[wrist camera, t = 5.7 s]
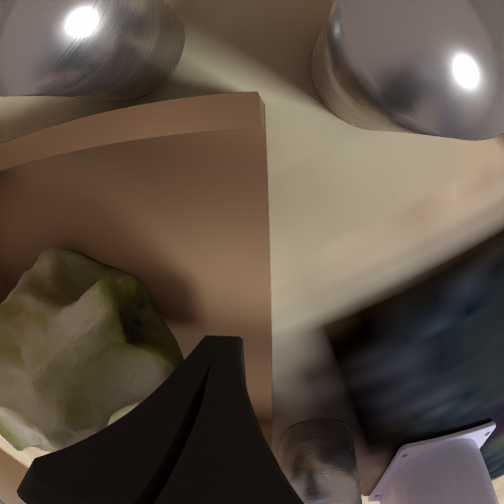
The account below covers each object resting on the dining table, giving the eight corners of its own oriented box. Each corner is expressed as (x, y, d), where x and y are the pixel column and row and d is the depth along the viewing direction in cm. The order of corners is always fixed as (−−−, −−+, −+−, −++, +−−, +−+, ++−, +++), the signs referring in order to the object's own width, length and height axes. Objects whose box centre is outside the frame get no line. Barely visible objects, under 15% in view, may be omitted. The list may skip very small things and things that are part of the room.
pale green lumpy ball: (71, 365, 16) (-19, 439, 8) (54, 212, 13) (-89, 257, 5) (210, 429, 14) (137, 555, 6) (232, 255, 11) (62, 405, 3)
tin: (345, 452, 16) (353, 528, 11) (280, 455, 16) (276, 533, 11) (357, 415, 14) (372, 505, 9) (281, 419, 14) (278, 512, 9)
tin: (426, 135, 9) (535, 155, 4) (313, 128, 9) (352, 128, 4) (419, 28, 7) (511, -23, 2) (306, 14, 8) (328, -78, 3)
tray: (272, 422, 15) (268, 478, 11) (54, 390, 16) (30, 426, 13) (264, 104, 9) (256, 91, 6) (-21, 161, 10) (-72, 178, 7)
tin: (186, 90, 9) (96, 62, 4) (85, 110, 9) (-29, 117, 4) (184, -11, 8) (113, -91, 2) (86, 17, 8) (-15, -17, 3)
